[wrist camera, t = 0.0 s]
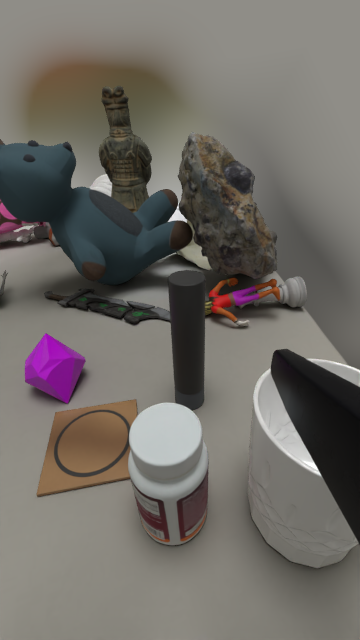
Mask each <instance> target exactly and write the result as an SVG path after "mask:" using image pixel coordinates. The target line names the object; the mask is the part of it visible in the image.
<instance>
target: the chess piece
mask: <svg viewBox="0 0 360 640" xmlns="http://www.w3.org/2000/svg"><path fill="white" fill-rule="evenodd" d="M278 288H279V290H280V300H278V299H276V297H275V296H274V294H269V295H267V296H265V297H263V298H261V299H258V300H253V301H250V302H247V303H245V304H242V305H239V307H240V308H243V307H244V306H245V305H247V304H249V303H250V304H253V305H255V306H258V305H259V302H262V301H279V302H281V303H282V304H284V303H287V304H288V305H289V306H290V307H296V306H297V307H301V306H304V305H305V303H306V300H307V291H306V286H305V283H304V281H303V279H302V278H301V277H294V278H293V279H292V278H289V279H288V280H287V281H286V282H285V283H284V285H279V287H278ZM255 294H257V291H253V292H252V293H251V294H249V295H245V296H252V295H255Z"/></svg>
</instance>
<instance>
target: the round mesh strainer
mask: <svg viewBox="0 0 360 640" xmlns="http://www.w3.org/2000/svg"><path fill="white" fill-rule="evenodd" d="M7 274H8V273H7ZM7 274H6V270H5V271H4V274H3V276H2V275H1V276H2V277H3V282H2V286H1V290H0V295H2V294H3V291H4V284H5V279H6V276H7Z"/></svg>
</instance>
